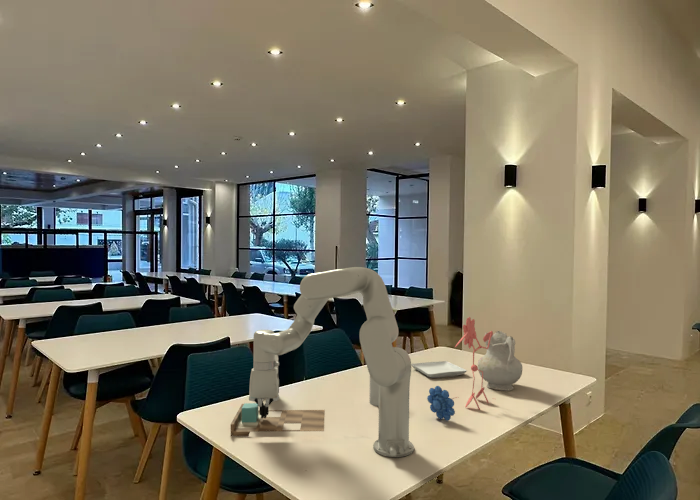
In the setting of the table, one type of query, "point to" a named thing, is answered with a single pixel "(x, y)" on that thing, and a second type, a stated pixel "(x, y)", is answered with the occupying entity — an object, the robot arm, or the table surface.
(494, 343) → the ceramic pitcher
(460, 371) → the salad plate
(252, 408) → the block
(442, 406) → the grapes
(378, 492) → the table surface
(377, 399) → the cup
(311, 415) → the board
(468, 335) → the pink stick figure
